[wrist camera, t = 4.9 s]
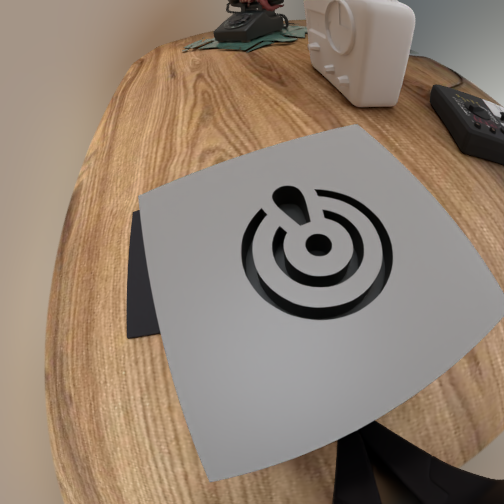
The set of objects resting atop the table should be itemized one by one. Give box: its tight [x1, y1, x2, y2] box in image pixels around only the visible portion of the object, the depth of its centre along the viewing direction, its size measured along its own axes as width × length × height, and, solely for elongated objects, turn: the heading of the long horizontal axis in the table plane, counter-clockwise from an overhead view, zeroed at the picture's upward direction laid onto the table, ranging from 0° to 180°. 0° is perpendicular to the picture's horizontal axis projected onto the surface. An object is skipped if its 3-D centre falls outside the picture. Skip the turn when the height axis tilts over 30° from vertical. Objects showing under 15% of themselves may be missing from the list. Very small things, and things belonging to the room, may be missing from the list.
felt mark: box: [127, 210, 161, 339], centre depth 21 cm, size 12×3×1 cm, turn 11°
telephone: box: [182, 0, 308, 53], centre depth 50 cm, size 35×32×20 cm
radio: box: [304, 0, 415, 107], centre depth 24 cm, size 22×8×25 cm, turn 9°
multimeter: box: [430, 85, 504, 165], centre depth 23 cm, size 13×19×5 cm
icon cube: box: [138, 124, 504, 482], centre depth 12 cm, size 10×10×10 cm
